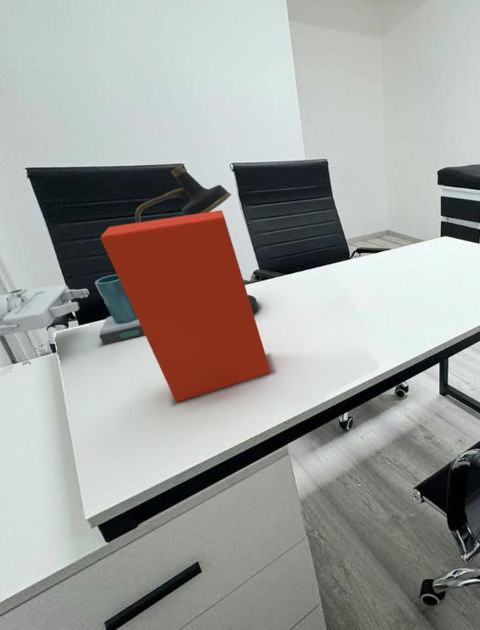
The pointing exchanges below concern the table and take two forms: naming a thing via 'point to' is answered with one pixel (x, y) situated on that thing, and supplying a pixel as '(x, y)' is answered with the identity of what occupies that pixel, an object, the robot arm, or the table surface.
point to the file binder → (189, 300)
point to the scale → (119, 331)
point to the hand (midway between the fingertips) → (83, 298)
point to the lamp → (195, 202)
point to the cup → (116, 299)
